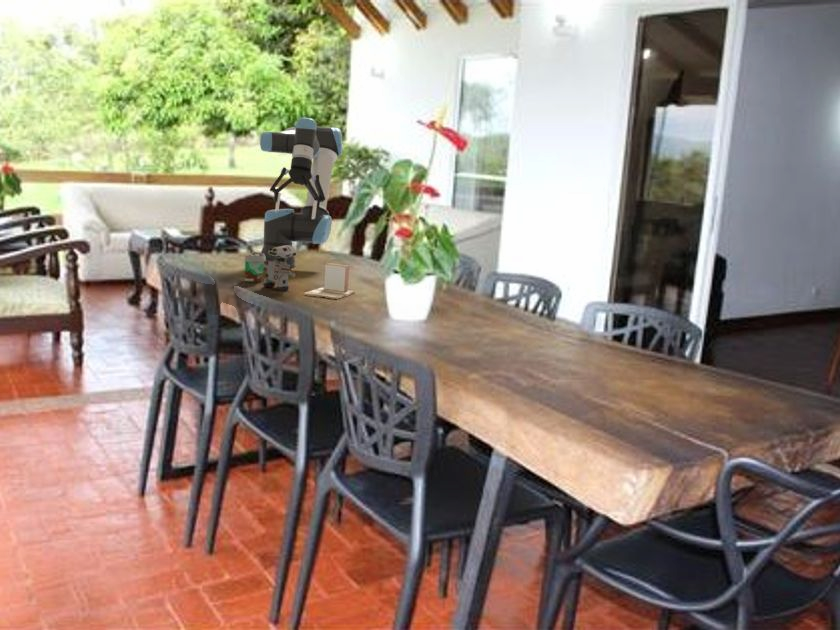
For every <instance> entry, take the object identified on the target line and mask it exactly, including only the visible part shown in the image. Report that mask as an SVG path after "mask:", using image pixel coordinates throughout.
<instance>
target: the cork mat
mask: <svg viewBox="0 0 840 630" xmlns="http://www.w3.org/2000/svg"><path fill="white" fill-rule="evenodd" d="M355 292H356V291H355V290H349V289H348V291H346V292H341V291H334V290H327V289H324V286H322V287H318V288H315V289H313V290H309V291H306V292H303V296H306V295H307V297H313V296H316V297H315V298H320V297H325V298H324V299H327V298H331V299H330V300H334V299H337V300H339V298H340V299H342V297H343V298H345V296H346V297H348V296H351V295H354V294H355Z"/></svg>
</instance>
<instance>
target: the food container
mask: <svg viewBox="0 0 840 630" xmlns="http://www.w3.org/2000/svg"><path fill="white" fill-rule="evenodd" d="M265 260H266V257H265V254H263V253H261V252H258V251H252V252H251V254H249V255H245V256H244V284H259V283H262V282H263V274H264V269H263V267H264V261H265Z"/></svg>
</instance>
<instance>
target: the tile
mask: <svg viewBox="0 0 840 630" xmlns="http://www.w3.org/2000/svg"><path fill="white" fill-rule="evenodd" d="M349 274H350V265H348V264H347V265H346V264H345V265H344V264H339V263H331V262H328V263H325V265H324V279H323V280H324V281H323V287H324V289H327V290H334V291H341V292H346V291H348V290H349V280H350V279H349V277H350V276H349Z"/></svg>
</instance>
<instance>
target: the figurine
mask: <svg viewBox="0 0 840 630" xmlns="http://www.w3.org/2000/svg"><path fill="white" fill-rule="evenodd" d="M268 253H269V255H272V256H275V260H274V261H269V262H268V265H267V259H270V258H267V259H266V260H265V262H264V266H263V270H266V273H265V276H264V281H263V287H264V288H274V287H276V282H277V287H276V290H277V291H278V292H283V291H288V290H289V288H290V287H289V276H291V277H292V278H293V279H295V278H296V275H297V271H296V272H295V273H294V272H292V271H291V270H292V268H291V267H292V266H291V265H287V263H286V260H287V259H288V258H287V257H291V256H294V257H296V256H297V253H298V252H297V250H296V249H295V247H294V245H292V246H290V245H283V246H279V247H274V248H271V249H270V250H269V251H268ZM277 259H278V260H285V262H282V261H277ZM270 260H271V259H270Z"/></svg>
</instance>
